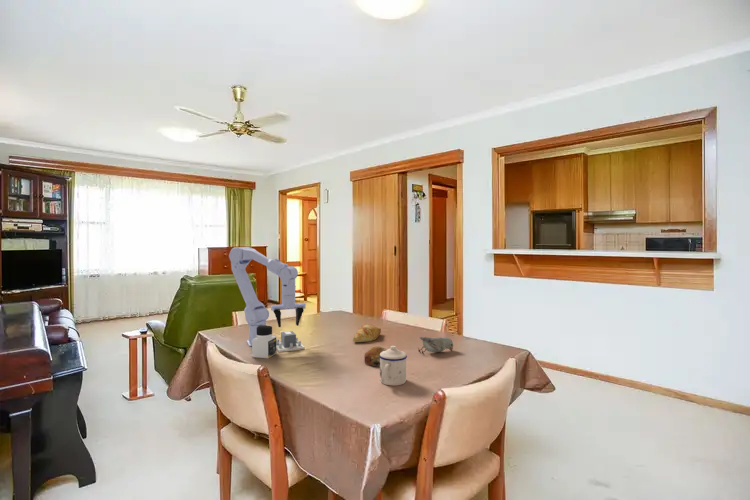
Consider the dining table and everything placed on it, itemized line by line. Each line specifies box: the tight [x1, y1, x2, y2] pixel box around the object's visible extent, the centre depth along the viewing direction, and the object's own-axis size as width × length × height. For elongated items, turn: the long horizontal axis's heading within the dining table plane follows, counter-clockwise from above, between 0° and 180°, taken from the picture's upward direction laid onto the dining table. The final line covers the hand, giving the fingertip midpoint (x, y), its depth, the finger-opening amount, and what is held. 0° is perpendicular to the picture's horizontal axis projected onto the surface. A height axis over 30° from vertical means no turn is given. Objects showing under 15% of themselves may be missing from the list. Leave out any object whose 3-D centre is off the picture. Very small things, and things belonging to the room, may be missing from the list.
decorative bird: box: [417, 336, 454, 356], centre depth 163 cm, size 5×16×8 cm, turn 113°
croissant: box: [352, 323, 382, 343], centre depth 185 cm, size 21×10×8 cm, turn 147°
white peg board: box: [276, 337, 305, 353], centre depth 170 cm, size 12×11×3 cm
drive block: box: [280, 330, 297, 348], centre depth 170 cm, size 7×5×5 cm
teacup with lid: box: [379, 345, 408, 387], centre depth 129 cm, size 12×9×12 cm
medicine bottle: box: [251, 324, 277, 359], centre depth 158 cm, size 7×7×12 cm
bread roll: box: [363, 345, 387, 367], centre depth 150 cm, size 10×10×8 cm
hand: (288, 326), depth 170 cm, fingers open, 7 cm apart
